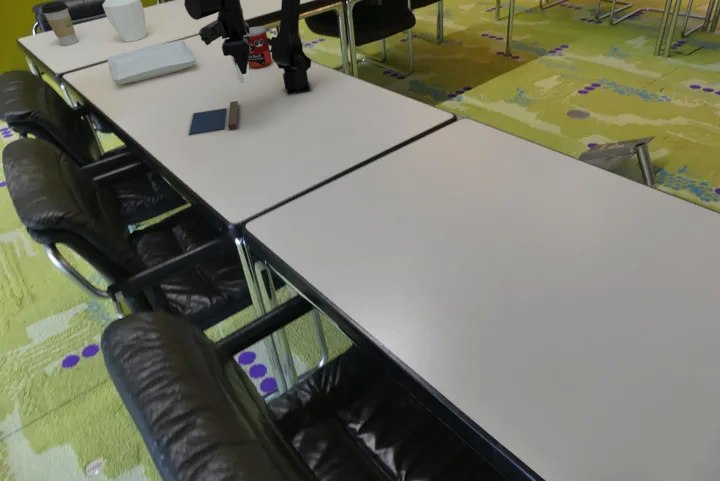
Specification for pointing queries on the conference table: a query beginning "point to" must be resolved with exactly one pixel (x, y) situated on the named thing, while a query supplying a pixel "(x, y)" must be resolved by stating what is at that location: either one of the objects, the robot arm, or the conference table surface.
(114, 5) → the vase
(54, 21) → the coffee cup
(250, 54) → the canned food
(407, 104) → the conference table surface
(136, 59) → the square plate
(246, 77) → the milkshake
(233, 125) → the bar
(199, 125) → the mat
